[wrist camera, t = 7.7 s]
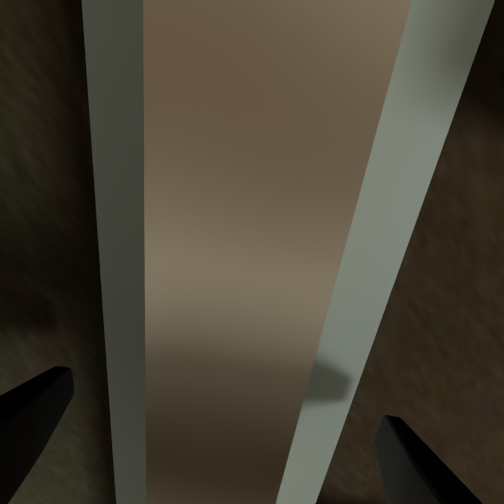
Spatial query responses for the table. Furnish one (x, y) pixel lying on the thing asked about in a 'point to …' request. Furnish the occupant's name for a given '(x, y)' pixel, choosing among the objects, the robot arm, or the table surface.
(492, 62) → the table surface
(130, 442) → the sage board
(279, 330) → the birch rail
